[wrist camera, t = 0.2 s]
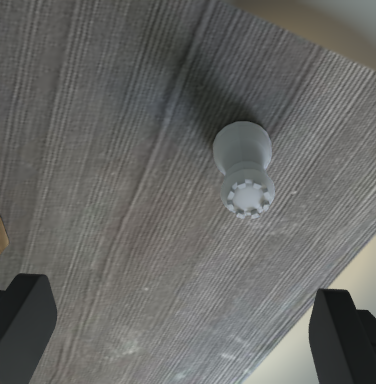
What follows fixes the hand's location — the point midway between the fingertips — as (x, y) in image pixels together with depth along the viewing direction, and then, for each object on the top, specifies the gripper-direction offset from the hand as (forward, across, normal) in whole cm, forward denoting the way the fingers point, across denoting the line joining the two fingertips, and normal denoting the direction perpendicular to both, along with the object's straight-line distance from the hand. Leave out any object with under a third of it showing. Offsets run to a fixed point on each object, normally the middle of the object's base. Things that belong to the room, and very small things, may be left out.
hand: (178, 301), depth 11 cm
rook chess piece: (+18, -3, +3) cm, 19 cm away
